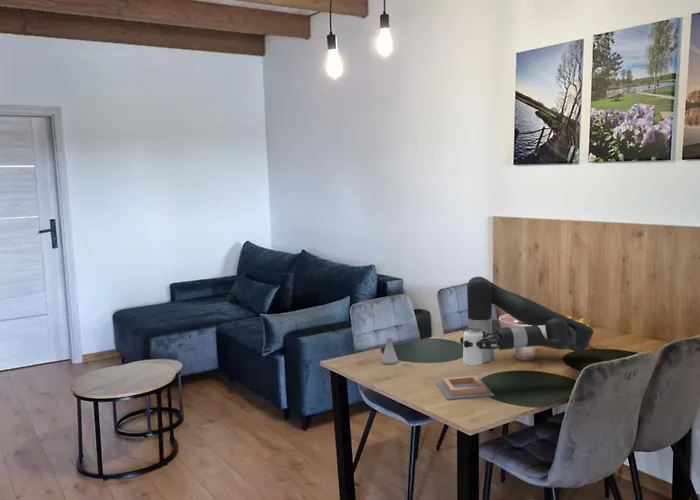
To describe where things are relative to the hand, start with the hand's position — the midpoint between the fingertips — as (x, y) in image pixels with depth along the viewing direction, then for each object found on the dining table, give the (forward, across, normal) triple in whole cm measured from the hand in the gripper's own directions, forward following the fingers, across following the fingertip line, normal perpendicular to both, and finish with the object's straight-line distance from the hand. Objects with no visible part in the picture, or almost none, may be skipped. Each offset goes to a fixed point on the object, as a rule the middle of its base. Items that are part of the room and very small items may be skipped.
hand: (462, 342), depth 207 cm
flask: (+20, +38, -17) cm, 46 cm away
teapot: (-58, +44, -19) cm, 75 cm away
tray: (0, +1, -17) cm, 17 cm away
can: (-3, 0, -8) cm, 9 cm away
